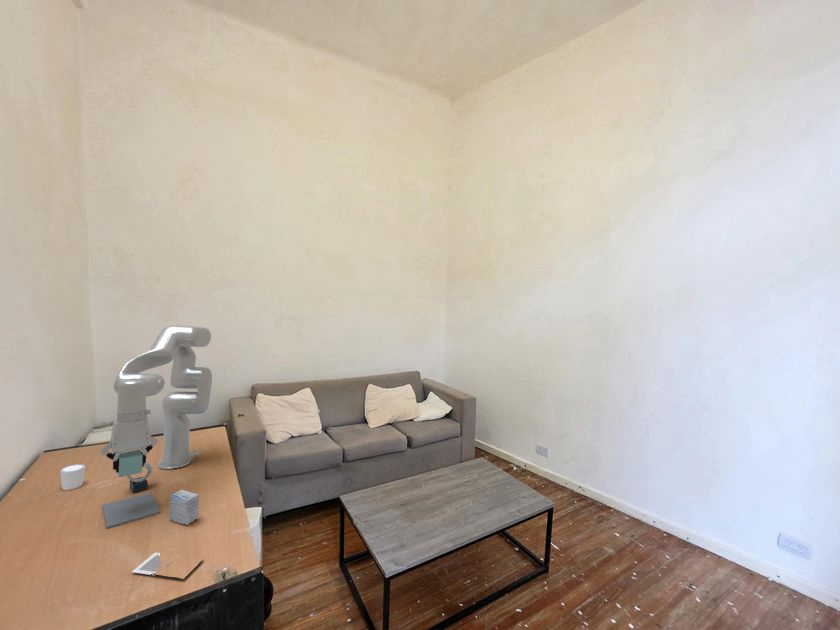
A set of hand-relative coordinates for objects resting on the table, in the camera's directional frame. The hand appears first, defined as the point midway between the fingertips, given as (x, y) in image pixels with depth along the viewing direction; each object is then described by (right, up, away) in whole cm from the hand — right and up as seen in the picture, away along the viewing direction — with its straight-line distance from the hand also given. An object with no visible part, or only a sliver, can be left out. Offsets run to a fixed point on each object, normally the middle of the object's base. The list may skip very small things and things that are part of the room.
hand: (129, 467), depth 125 cm
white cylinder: (-33, -13, +14) cm, 38 cm away
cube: (0, -1, 0) cm, 1 cm away
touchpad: (+29, -18, -23) cm, 42 cm away
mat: (-1, -15, +2) cm, 15 cm away
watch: (-9, -14, +15) cm, 23 cm away
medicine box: (+20, -17, -2) cm, 26 cm away
